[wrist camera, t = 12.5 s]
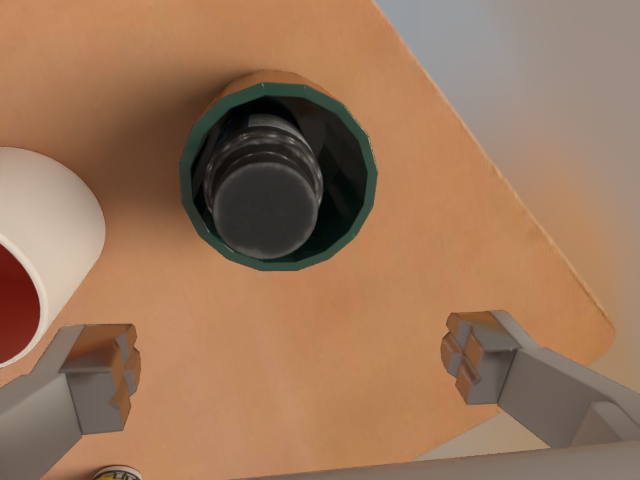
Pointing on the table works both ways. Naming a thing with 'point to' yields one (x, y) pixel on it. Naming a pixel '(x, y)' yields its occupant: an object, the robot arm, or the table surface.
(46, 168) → the cup
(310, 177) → the pill bottle
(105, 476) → the supplement bottle
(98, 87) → the table surface
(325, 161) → the green cup
